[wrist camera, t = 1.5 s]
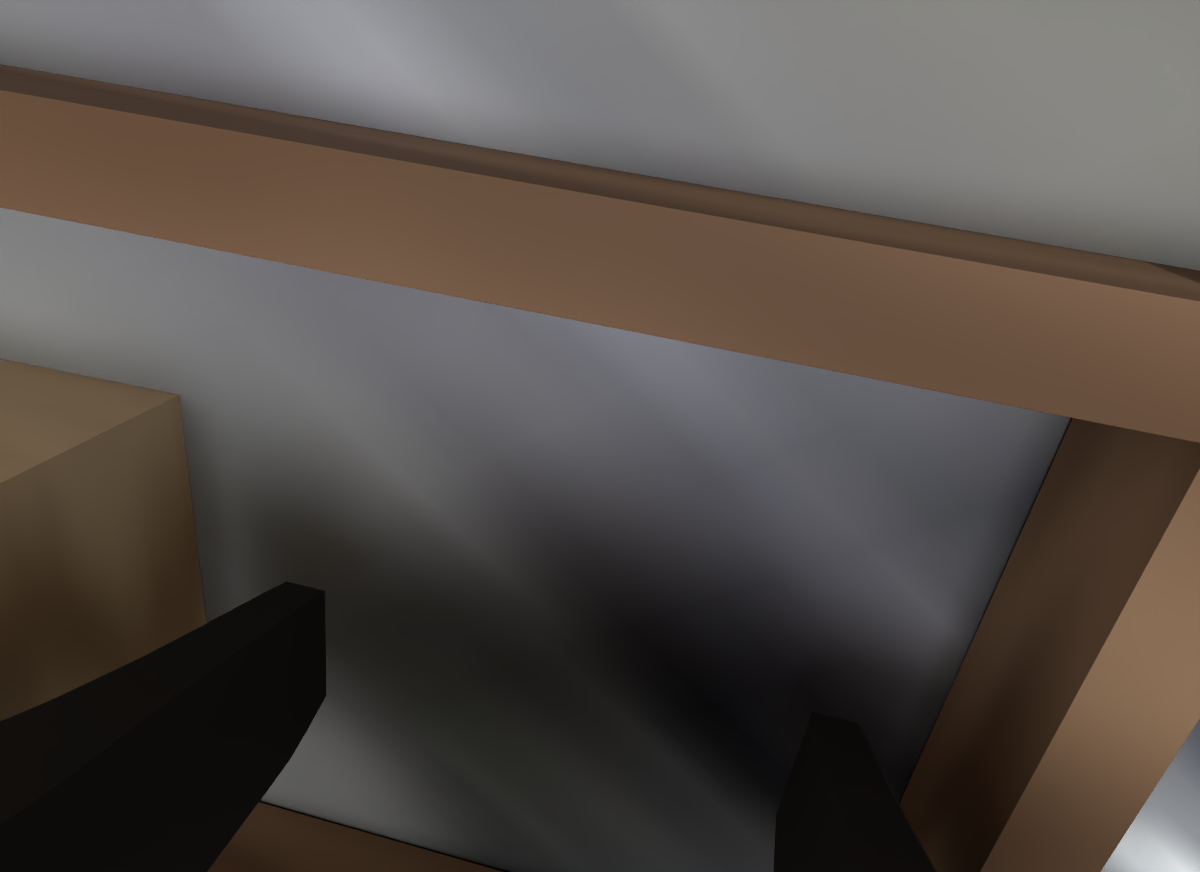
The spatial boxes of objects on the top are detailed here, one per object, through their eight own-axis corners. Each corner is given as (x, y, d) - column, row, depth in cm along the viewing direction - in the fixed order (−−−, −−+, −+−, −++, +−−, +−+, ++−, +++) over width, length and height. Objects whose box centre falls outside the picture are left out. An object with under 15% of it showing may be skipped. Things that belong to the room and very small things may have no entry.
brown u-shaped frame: (873, 1020, 14) (895, 1189, 12) (-142, 723, 17) (-279, 818, 15) (1256, 281, 8) (1441, 344, 6) (-412, -7, 11) (-716, -36, 9)
